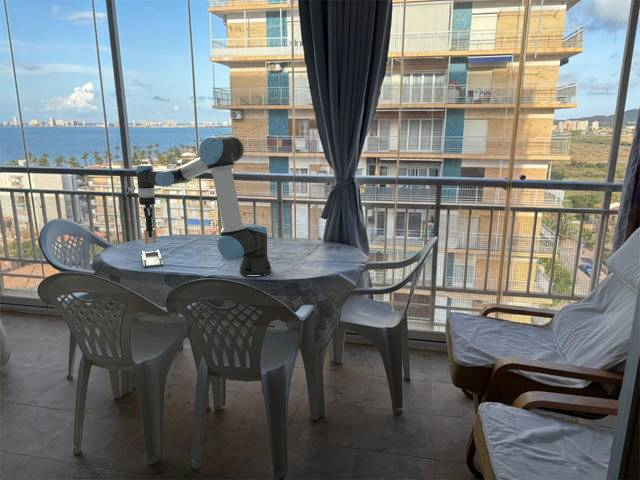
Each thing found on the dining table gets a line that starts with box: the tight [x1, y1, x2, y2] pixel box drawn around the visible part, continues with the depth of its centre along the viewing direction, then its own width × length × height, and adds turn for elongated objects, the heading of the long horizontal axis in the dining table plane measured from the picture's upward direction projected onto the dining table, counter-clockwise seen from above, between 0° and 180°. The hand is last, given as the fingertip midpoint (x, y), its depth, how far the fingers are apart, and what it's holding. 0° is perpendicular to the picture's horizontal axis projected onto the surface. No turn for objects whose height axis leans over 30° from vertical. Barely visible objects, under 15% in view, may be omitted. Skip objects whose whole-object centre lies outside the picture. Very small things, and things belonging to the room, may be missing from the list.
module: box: [143, 227, 157, 245], centre depth 222 cm, size 4×5×8 cm
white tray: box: [141, 249, 164, 269], centre depth 225 cm, size 20×9×4 cm, turn 24°
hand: (150, 241), depth 223 cm, fingers closed on module, 4 cm apart
